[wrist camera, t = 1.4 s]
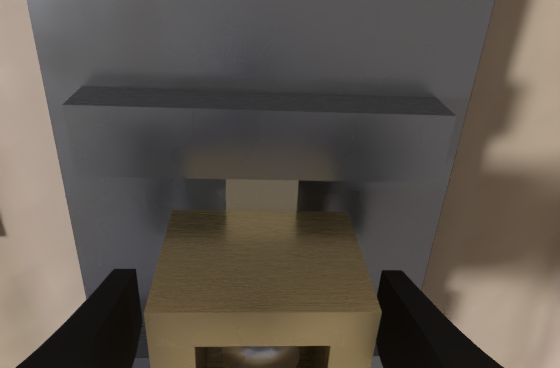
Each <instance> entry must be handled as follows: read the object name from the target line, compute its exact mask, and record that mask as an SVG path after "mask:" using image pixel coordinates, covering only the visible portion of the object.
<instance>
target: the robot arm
mask: <svg viewBox="0 0 560 368" xmlns="http://www.w3.org/2000/svg"><path fill="white" fill-rule="evenodd" d="M377 299H378V302H379V305H380V308H381V311H382V314H381V319H380V324H379V329H378V333H377V338H376V345H377V349H378V354H379V357H380V360H381V363H382V366H383V368H503V367H502V366H501V365H500V364H498V363H497V362H496V361H495V360H493V359H492V358H491V357H490V356H488V355H487V354H486V353H485V352H483V351H482V350H481V349H480V348H479V347H477V346H476V345H475V344H474V343H473V342H472V341H471V340H470V339H469V338H467V337H466V336H465V335H464V334H463V333H462V332H461V331H460V330H459V329H458V328H457V327H456V326H455V325H454V324H452V323H451V322H450V321H449V320H448V319H447V318H446V317H445V316H444V315H443V314H442V313H441V312H440V311H439V310H438V308H437V307H436V306H435V305H434V304H433V303H432V302H431V301H430V300H429V299H428V298H427V297H426V296H425V295H424V294H423V292H422V291H421V290H420V289H419V288H418V287H417V286H416V285H415V284H414V283H413V282H412V280H411V279H410V278H409V277H408V276H407V275H406V274H405V273H404V272H403V271H402V270H382V272H381V277H380V282H379V287H378V292H377ZM142 322H143V320H142V313H141V305H140V297H139V289H138V281H137V274H136V269H113V270H112V271H111V272H110V273H109V275H108V276H107V277H106V278H105V279H104V280H103V281H102V283H101V284H100V285H99V286H98V287H97V288H96V289H95V291H94V292H93V293H92V294H91V295H90V296H89V297H88V298H87V300H86V301H85V302H84V303H83V304H82V305H81V306H80V307H79V308H78V309H77V310H76V311H75V312H74V314H73V315H72V316H71V317H70V318H69V319H68V320H67V321H66V322H65V323H64V324H63V325H62V326H61V327H60V328H59V329H58V330H57V331H56V332H55V333H54V334H53V335H52V336H51V337H49V338H48V339H47V340H46V341H45V342H44V343H43V344H42V345H41V346H40V347H39V348H38V349H37V350H36V351H34V352H33V353H32V354H31V355H30V356H29V357H28V358H26V359H25V360H24V361H23V362H22V363H20V364H19V365H18V366H17V367H16V368H132V366H133V363H134V360H135V357H136V353H137V348H138V343H139V338H140V333H141V327H142Z"/></svg>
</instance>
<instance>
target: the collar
mask: <svg viewBox="0 0 560 368" xmlns="http://www.w3.org/2000/svg"><path fill="white" fill-rule="evenodd" d="M381 314H382V311H381V308H380V305H379V302H378V299H377V296H376V293H375V290H374V287H373V284H372V281H371V278H370V275H369V272H368V269H367V266H366V264H365V261H364V258H363V255H362V252H361V249H360V246H359V243H358V240H357V237H356V234H355V231H354V228H353V225H352V222H351V219H350V216H349V213H348V212H322V211H246V210H172V213H171V217H170V220H169V224H168V227H167V231H166V235H165V238H164V242H163V245H162V249H161V252H160V256H159V260H158V263H157V267H156V270H155V274H154V278H153V281H152V285H151V288H150V292H149V296H148V299H147V303H146V306H145V310H144V319H145V327H146V336H147V344H148V352H149V360H150V368H224V366H223V364H222V361H221V352H222V347H227V346H299V351H300V358H299V362H298V364H297V366H296V367H295V368H370V367H371V362H372V358H373V353H374V348H375V343H376V338H377V333H378V329H379V324H380V319H381Z"/></svg>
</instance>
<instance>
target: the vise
mask: <svg viewBox="0 0 560 368" xmlns="http://www.w3.org/2000/svg"><path fill="white" fill-rule="evenodd" d="M494 2H495V0H27V4H28V9H29V14H30V19H31V24H32V29H33V34H34V39H35V44H36V49H37V54H38V59H39V64H40V69H41V74H42V79H43V84H44V89H45V94H46V99H47V104H48V109H49V114H50V119H51V124H52V129H53V134H54V139H55V144H56V149H57V154H58V159H59V164H60V169H61V174H62V179H63V184H64V189H65V194H66V199H67V204H68V209H69V214H70V219H71V224H72V229H73V234H74V239H75V244H76V249H77V254H78V259H79V264H80V269H81V274H82V279H83V284H84V289H85V294H86V299H87V298H88V297H89V296H90V295H91V294H92V293H93V292H94V291H95V289H96V288H97V287H98V286H99V285H100V284H101V283H102V281H103V280H104V279H105V278H106V277H107V276H108V275H109V273H110V272H111V271H112V270H113V269H136V274H137V281H138V289H139V297H140V305H141V313H142V320H143V322H142V327H141V333H140V338H139V343H138V348H137V353H136V357H135V360H134V363H133V366H132V368H150V360H149V352H148V344H147V336H146V327H145V319H144V310H145V306H146V303H147V299H148V296H149V292H150V288H151V285H152V281H153V278H154V274H155V270H156V267H157V263H158V260H159V256H160V252H161V249H162V245H163V242H164V238H165V235H166V231H167V227H168V224H169V220H170V217H171V213H172V210H246V211H322V212H348V213H349V216H350V219H351V222H352V225H353V228H354V231H355V234H356V237H357V240H358V243H359V246H360V249H361V252H362V255H363V258H364V261H365V264H366V266H367V269H368V272H369V275H370V278H371V281H372V284H373V287H374V290H375V293H376V296H377V292H378V287H379V282H380V277H381V272H382V270H402V271H403V272H404V273H405V274H406V275H407V276H408V277H409V278H410V279H411V280H412V282H413V283H414V284H415V285H416V286H417V287H418V288H419V289H420V290H421V289H422V285H423V281H424V277H425V273H426V269H427V265H428V261H429V257H430V253H431V250H432V246H433V242H434V238H435V234H436V230H437V226H438V222H439V218H440V214H441V210H442V206H443V202H444V198H445V195H446V191H447V187H448V183H449V179H450V175H451V171H452V167H453V163H454V159H455V155H456V151H457V147H458V144H459V140H460V136H461V132H462V128H463V124H464V120H465V116H466V112H467V108H468V104H469V100H470V96H471V92H472V89H473V85H474V81H475V77H476V73H477V69H478V65H479V61H480V57H481V53H482V49H483V45H484V41H485V37H486V34H487V30H488V26H489V22H490V18H491V14H492V10H493V6H494ZM299 358H300V351H299V346H227V347H222V352H221V361H222V364H223V366H224V368H295V367H296V366H297V364H298V362H299ZM370 368H383V366H382V363H381V360H380V357H379V354H378V349H377V345H376V343H375V348H374V353H373V358H372V362H371V367H370Z"/></svg>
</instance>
